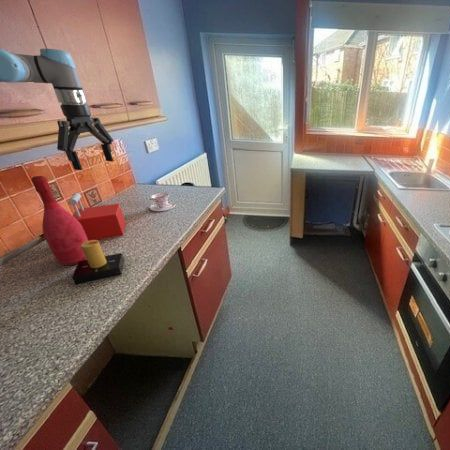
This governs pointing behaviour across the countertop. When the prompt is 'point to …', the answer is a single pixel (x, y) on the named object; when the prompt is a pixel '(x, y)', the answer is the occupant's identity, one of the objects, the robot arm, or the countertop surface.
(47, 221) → the wine bottle
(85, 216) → the cabinet door
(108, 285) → the countertop surface
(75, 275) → the panel
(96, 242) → the yellow cylinder
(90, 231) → the cabinet
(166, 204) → the teacup
